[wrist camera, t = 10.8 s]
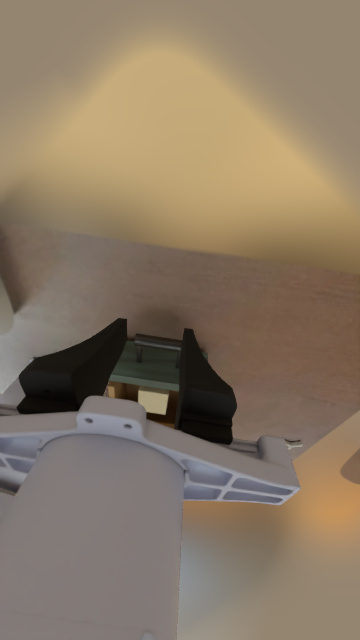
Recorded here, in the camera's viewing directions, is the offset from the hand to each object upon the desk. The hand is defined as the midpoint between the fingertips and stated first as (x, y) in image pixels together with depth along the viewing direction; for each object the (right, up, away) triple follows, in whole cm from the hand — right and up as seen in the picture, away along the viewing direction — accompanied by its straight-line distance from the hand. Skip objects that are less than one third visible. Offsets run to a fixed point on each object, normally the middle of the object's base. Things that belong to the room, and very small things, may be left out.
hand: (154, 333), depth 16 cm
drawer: (-1, -6, +16) cm, 17 cm away
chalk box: (-1, -7, +15) cm, 16 cm away
